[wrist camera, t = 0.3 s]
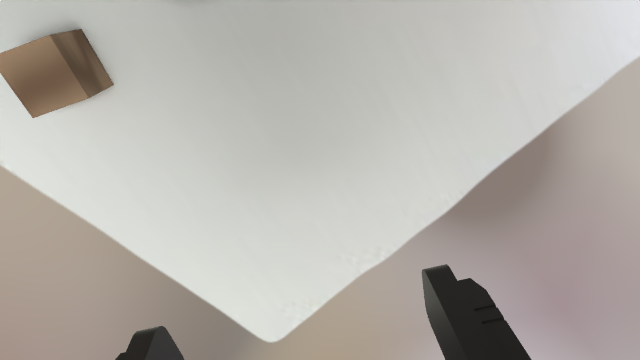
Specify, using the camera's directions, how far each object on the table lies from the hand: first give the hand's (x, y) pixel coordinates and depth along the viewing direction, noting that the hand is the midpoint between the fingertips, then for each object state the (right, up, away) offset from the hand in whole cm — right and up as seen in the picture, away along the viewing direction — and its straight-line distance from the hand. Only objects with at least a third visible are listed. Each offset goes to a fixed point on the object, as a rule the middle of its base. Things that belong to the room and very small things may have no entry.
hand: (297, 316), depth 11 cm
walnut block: (-21, +14, +22) cm, 34 cm away
